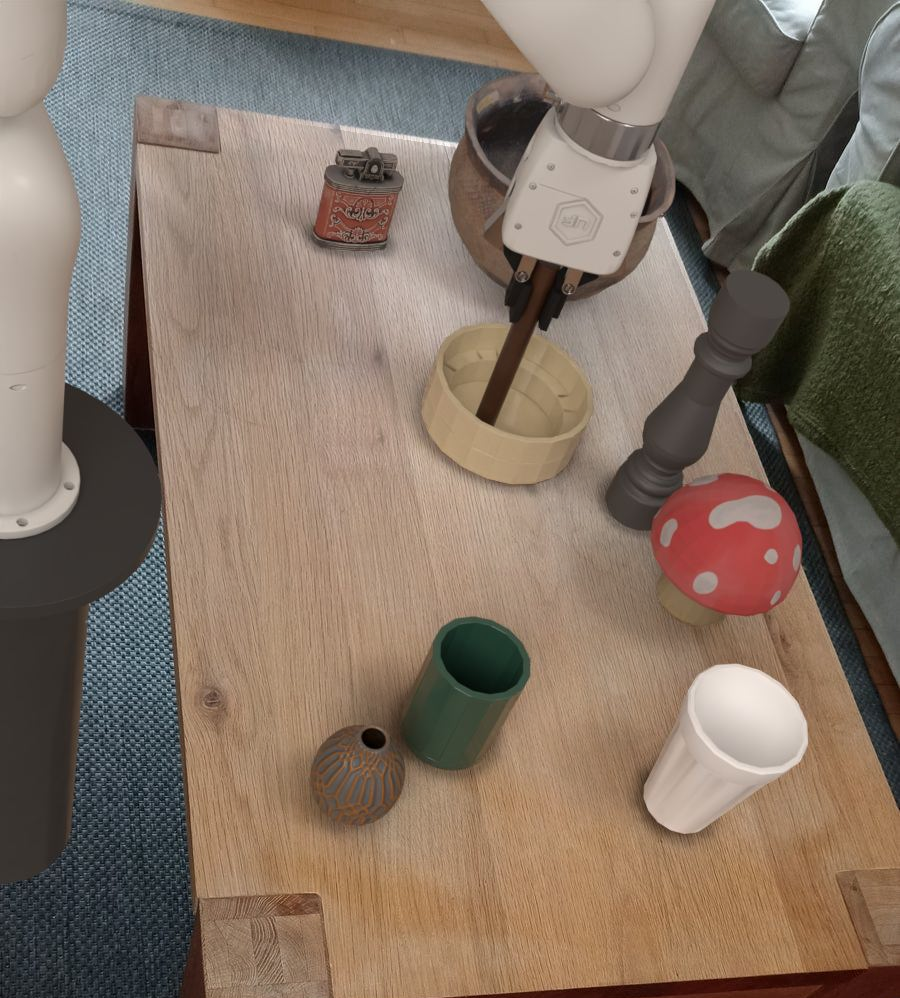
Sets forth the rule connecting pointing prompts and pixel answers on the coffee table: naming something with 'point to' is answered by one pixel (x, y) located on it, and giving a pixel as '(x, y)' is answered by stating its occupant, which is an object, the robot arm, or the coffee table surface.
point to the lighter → (357, 201)
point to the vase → (357, 774)
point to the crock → (464, 692)
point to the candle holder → (697, 397)
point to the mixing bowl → (506, 406)
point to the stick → (517, 343)
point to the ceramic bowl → (494, 159)
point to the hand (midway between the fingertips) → (527, 315)
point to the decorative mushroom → (725, 549)
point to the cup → (724, 746)
